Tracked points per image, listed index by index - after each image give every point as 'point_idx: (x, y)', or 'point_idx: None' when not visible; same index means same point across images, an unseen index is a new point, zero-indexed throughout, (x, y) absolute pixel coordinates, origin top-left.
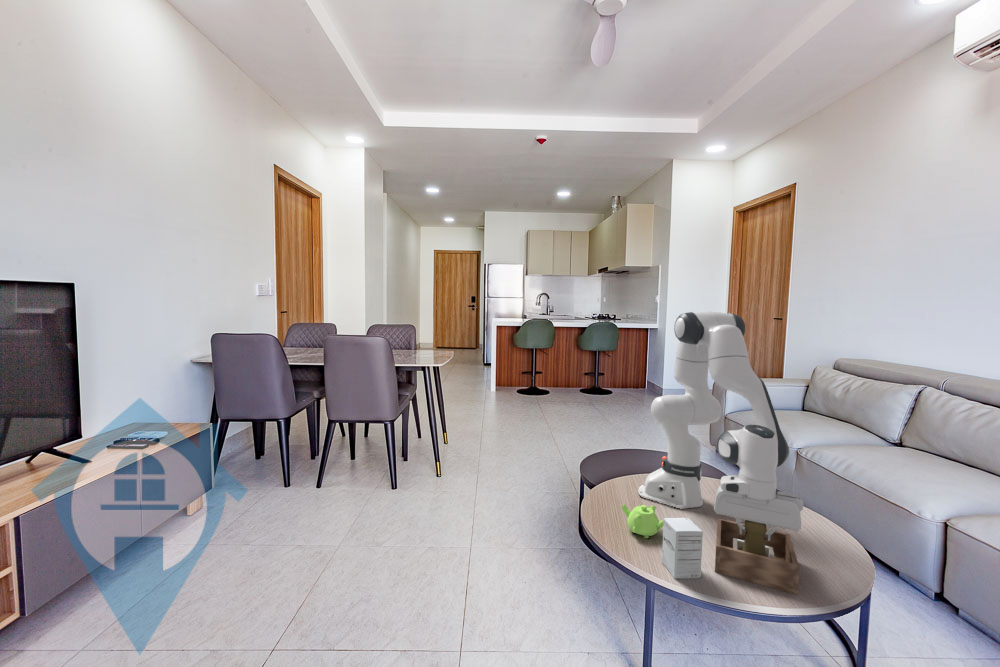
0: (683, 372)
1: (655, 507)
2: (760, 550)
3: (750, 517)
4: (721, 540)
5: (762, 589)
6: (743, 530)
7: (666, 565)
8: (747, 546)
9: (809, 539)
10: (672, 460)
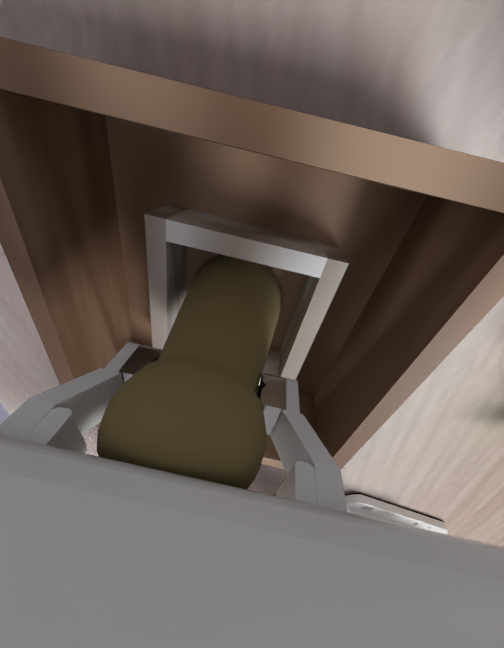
0: None
1: None
2: (201, 293)
3: (208, 540)
4: (311, 394)
5: (249, 67)
6: (277, 398)
7: None
8: (262, 316)
9: (90, 429)
10: None
